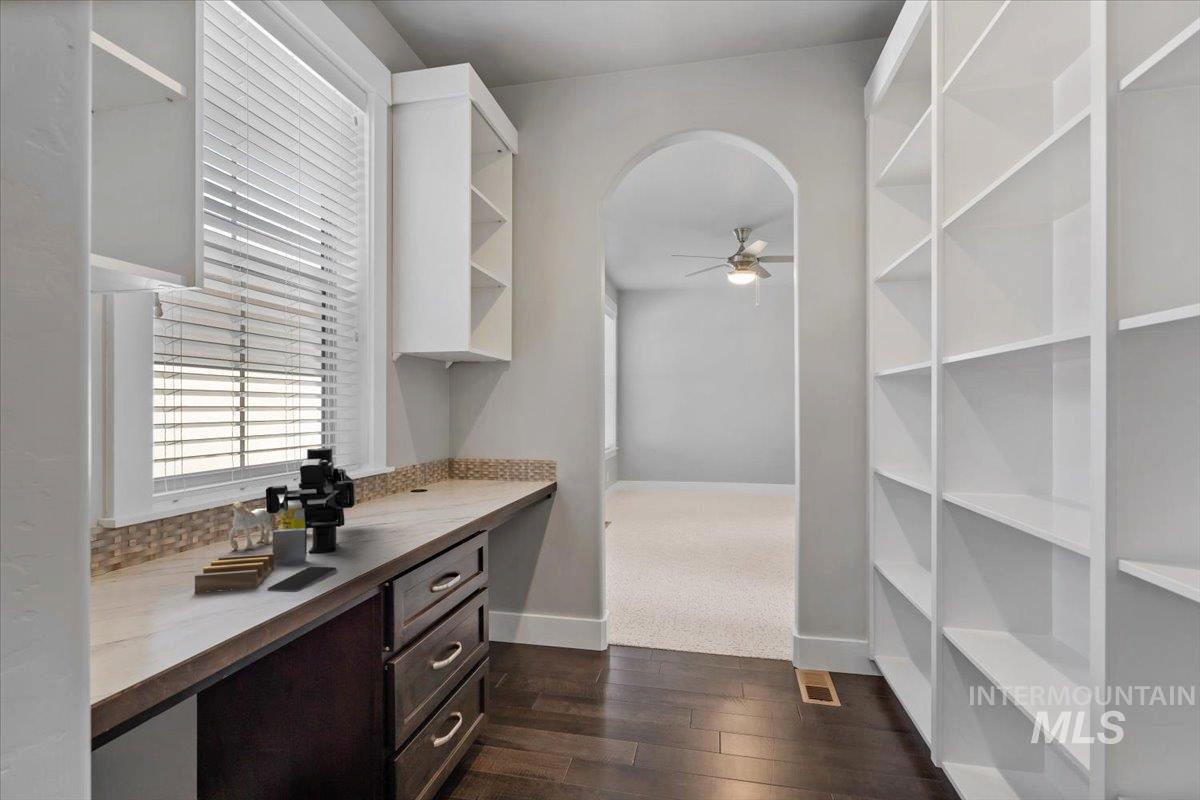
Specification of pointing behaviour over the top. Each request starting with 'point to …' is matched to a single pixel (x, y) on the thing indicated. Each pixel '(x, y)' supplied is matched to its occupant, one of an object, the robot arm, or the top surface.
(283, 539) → the block
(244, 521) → the unicorn figurine
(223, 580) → the rack
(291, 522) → the supplement bottle
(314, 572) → the smartphone
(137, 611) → the top surface
